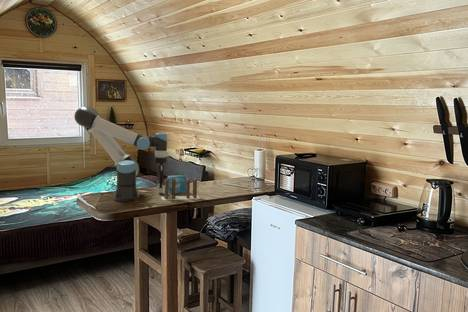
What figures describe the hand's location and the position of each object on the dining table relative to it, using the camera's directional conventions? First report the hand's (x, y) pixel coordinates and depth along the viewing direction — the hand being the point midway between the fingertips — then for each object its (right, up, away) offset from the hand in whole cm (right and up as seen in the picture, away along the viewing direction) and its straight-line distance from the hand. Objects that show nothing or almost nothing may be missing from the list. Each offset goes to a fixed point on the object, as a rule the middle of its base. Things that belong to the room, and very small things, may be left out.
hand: (159, 191), depth 279 cm
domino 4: (+19, -3, -10) cm, 22 cm away
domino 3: (+11, -3, -12) cm, 17 cm away
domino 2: (+6, -3, -14) cm, 15 cm away
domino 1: (0, -1, 0) cm, 1 cm away
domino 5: (+24, -3, -9) cm, 25 cm away
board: (+15, -4, -11) cm, 19 cm away
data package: (+10, -2, +6) cm, 12 cm away
